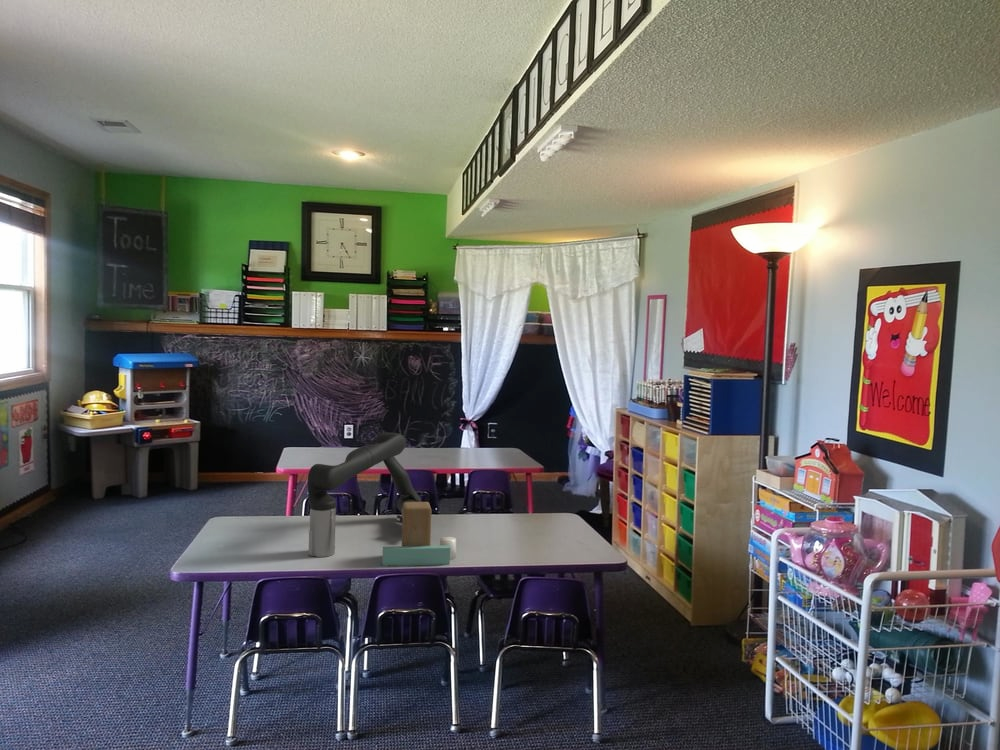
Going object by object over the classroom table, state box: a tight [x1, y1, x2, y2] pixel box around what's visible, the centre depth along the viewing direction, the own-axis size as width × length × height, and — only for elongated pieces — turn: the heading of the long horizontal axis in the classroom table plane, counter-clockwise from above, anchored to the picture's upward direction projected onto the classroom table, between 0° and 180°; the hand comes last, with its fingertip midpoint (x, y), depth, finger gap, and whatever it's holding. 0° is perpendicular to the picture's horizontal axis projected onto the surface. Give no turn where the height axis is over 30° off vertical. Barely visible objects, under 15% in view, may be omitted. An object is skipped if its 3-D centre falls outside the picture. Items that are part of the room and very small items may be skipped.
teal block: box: [381, 545, 451, 567], centre depth 251 cm, size 24×3×6 cm, turn 100°
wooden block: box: [401, 501, 432, 546], centre depth 257 cm, size 10×10×20 cm
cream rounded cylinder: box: [439, 536, 457, 561], centre depth 259 cm, size 6×6×7 cm
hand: (413, 524), depth 274 cm, fingers closed
